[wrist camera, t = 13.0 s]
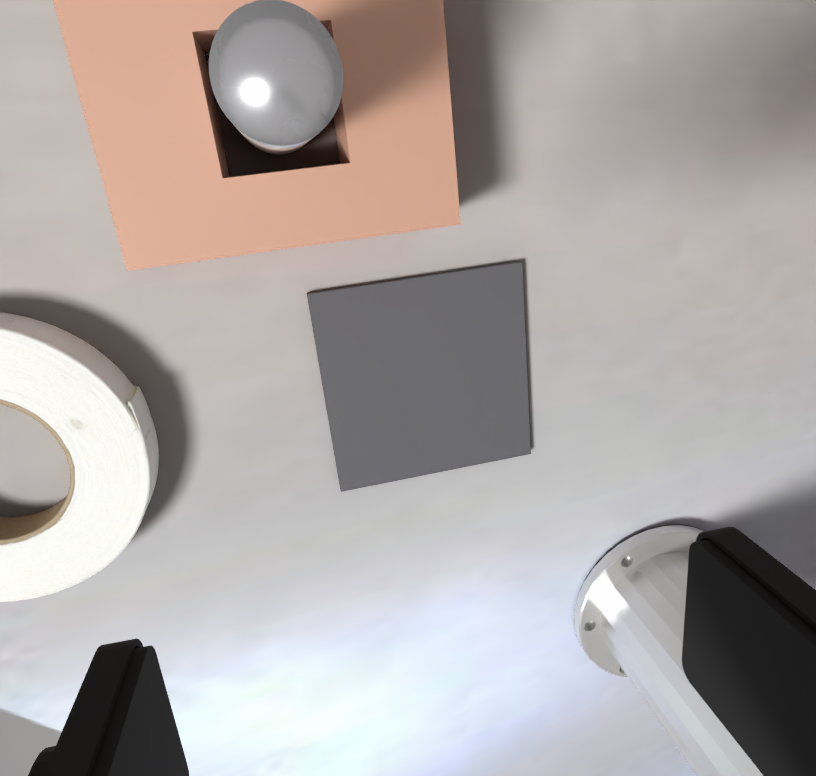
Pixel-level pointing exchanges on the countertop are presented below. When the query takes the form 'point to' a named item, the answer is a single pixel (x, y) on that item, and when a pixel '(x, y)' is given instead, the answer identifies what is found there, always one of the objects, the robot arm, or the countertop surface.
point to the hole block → (202, 143)
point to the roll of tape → (74, 458)
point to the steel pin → (276, 74)
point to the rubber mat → (424, 372)
